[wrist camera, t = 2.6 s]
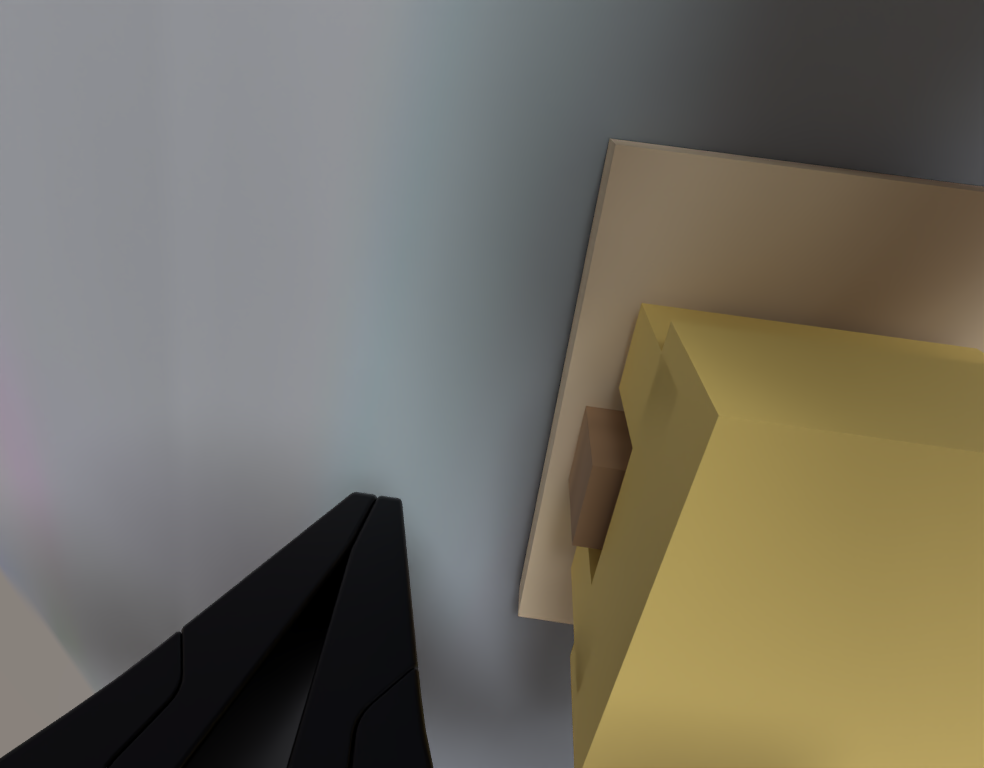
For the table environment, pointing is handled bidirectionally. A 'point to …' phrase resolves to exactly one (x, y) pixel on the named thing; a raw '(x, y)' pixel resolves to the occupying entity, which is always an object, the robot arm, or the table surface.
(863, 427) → the block
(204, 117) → the table surface
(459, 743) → the table surface
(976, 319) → the track
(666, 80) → the table surface
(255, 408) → the table surface
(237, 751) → the robot arm
